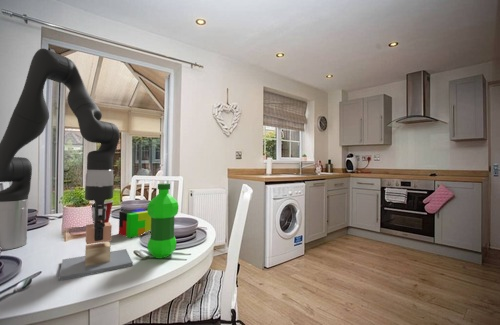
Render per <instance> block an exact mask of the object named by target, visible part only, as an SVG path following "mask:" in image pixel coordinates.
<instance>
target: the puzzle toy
mask: <svg viewBox="0 0 500 325" xmlns="http://www.w3.org/2000/svg"><path fill="white" fill-rule="evenodd" d="M118 215H119V217H118V218H119V220H118V234H119V235H121V236H123V235H124V237H126V236H127V238H130V239H132V238H131V237H133V238H136V237H135V236H137V237H140V235H141V234H143V233H144V232H147V231H149V230H151V217H150V216H149V215H148V211H147V210H146V209H143V208H137V209H129V210H123V211H119V214H118ZM141 236H142V235H141Z"/></svg>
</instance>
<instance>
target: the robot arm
mask: <svg viewBox="0 0 500 325" xmlns="http://www.w3.org/2000/svg"><path fill="white" fill-rule="evenodd" d="M47 80H50V81H54V82H57V83H60V84H63V85H64V86H65V87H66V88H67V89H68V90H69V91H68V93H67V103H68V106H69V107H68V108H70V110H71V112H72V113H73V114H74V116H75V117H76V119H77V123H78V127H79V132H80V135H81V136H82V138H83V139H84V140H85V141H87V142H89V143H93V144H95V143H96V144H100V146H99V148H98V149H97V150H92V151H89V152H88V153H87V156H86V173H85V182H84V183H85V184H84V185H85V186H84V190H85V191H84V199H85V200H86V201H91V202H92V201H93V202H95V203H94V204H93V205H92V207H91V206H90V208H91V218H92V224H94V229H95V235H94V240H95V241H101V240H103V228H104V226H105V219H106V210H107V205H106V204H104V201H109V200H112V199H113V198H114V179H115V178H114V177H115V176H114V157H115V154H116V151H117V148H118V145H119V141H120V137H121V132H120V129H119V127H118V126H117V125H116V124H115V123H113V122H108V121H103V120H101V119H102V116H103V115H102V111H101V110H100V107H98V105H97V104H96V102H95V101H94V99H93V98H92V97H91V95H90V93H89V92H88V90H87V88H86V85H85V83H84V81H83V78H82V76H81V74H80V71H79V69H78V67H77V66H76V64H75V62H74V61H73V60H71V58H70V59H69V58H68V57H67V56H64V55H61V54H59V53H57V52H54V51H53V50H52V51H51V50H50V49H47V48H39V49H38V50H36V52H34V55H33V57H32V58H31V62H30V64H29V69H28V72H27V76H26V80H25V83H24V86H23V88H22V91H21V94H20V96H19V98H18V100H17V103H16V106H15V107H14V109H13V112H12V114H11V116H10V119H9V121H8V125H7V127H6V130H5V132H4V134H3V136H2V139H1V141H0V183H9V182H10V186H8V187H7V188H5V189H2V190H0V247H1V248H2V249H1V250H0V251H5V250H12V249H17V248H20V247H23V246H25V245H27V239H28V238H27V237H28V212H29V211H28V210H29V209H28V208H29V207H28V206H29V195H30V192H31V184H32V183H31V182H32V174H33V167H32V162H31V160H30V159H29V158H27V157H22V156H21V157H19V156H18V157H17V156H16V154H17V153H18V152H19V151H20V150H21V149H22V148H24V147H25V146H26V145H29V144H30V143H31V142H33V141H34V140H36V139H37V138H39V137H40V136H41V134H43V133H44V130H45V128H46V126H47V124H48V121H49V119H50V112H49V108H48V105H47V103H46V99H45V96H44V88H45V85H46V82H47ZM98 223H99V224H98Z"/></svg>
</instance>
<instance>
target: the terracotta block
mask: <svg viewBox="0 0 500 325" xmlns="http://www.w3.org/2000/svg"><path fill="white" fill-rule="evenodd" d="M98 224H99V223H98ZM112 227H113V226H112V224H111V222H110V221H109V222H108V223H105V226H104V228H103V240H101V241H95V240H94V235H95V229H94V223H91V224H86V225H85V245H90V244H97V243H104V242H111V241H112Z"/></svg>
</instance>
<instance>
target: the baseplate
mask: <svg viewBox="0 0 500 325" xmlns="http://www.w3.org/2000/svg"><path fill="white" fill-rule="evenodd" d="M133 264H134V263H133V260H132V258H131V256H130V254H129V252H128V250H127V248H125V249H117V250H110V262H104V263H99V264H94V265H88V266H85V255H82V256H76V257H71V258H70V257H69V258H64V259H62V260H61V266H60V271H59V276H58V281H59V282H60V281H64V280H69V279H74V278H75V279H76V278H79V277H83V276H84V277H85V276H89V275H93V274H98V273H104V272H107V271H112V270H113V271H114V270H117V269H123V268H128V267H133Z"/></svg>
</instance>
